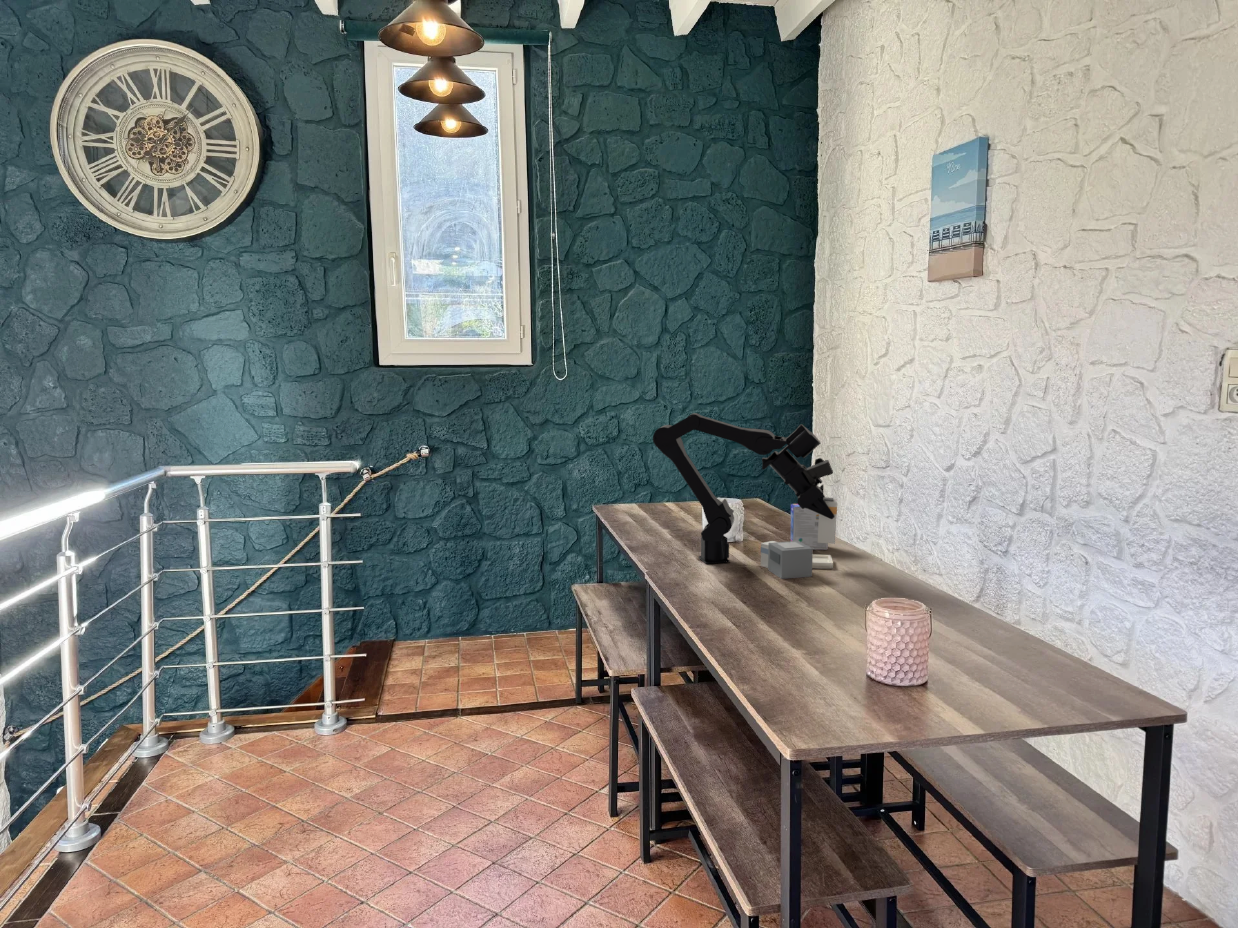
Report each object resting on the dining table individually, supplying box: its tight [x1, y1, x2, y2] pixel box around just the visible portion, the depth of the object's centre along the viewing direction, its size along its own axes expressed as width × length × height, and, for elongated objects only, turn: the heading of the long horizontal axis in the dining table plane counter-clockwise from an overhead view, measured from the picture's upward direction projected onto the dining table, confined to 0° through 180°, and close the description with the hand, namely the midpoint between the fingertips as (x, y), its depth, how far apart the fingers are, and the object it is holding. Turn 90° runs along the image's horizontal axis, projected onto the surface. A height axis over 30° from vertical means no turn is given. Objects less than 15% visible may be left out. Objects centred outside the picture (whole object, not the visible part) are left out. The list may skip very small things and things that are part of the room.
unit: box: [767, 540, 813, 580], centre depth 201 cm, size 8×8×7 cm
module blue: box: [760, 540, 777, 569], centre depth 208 cm, size 4×4×6 cm
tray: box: [812, 554, 834, 570], centre depth 210 cm, size 8×8×2 cm
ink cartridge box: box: [790, 503, 829, 550], centre depth 226 cm, size 10×6×14 cm, turn 89°
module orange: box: [818, 496, 838, 545], centre depth 205 cm, size 4×4×11 cm
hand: (833, 515), depth 205 cm, fingers closed on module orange, 4 cm apart
